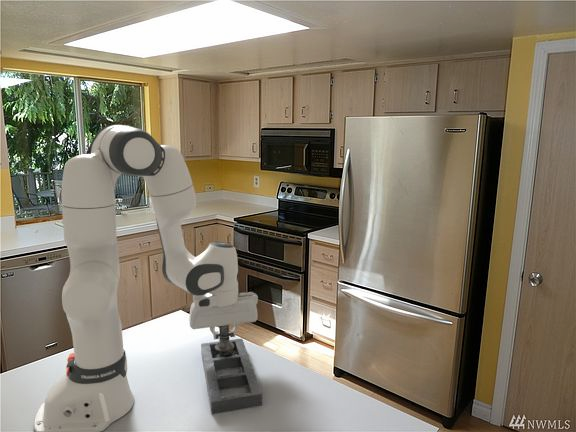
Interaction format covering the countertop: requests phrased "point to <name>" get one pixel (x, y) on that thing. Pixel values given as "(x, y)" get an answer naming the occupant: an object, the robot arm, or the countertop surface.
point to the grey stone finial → (224, 343)
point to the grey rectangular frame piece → (230, 378)
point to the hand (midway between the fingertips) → (224, 337)
